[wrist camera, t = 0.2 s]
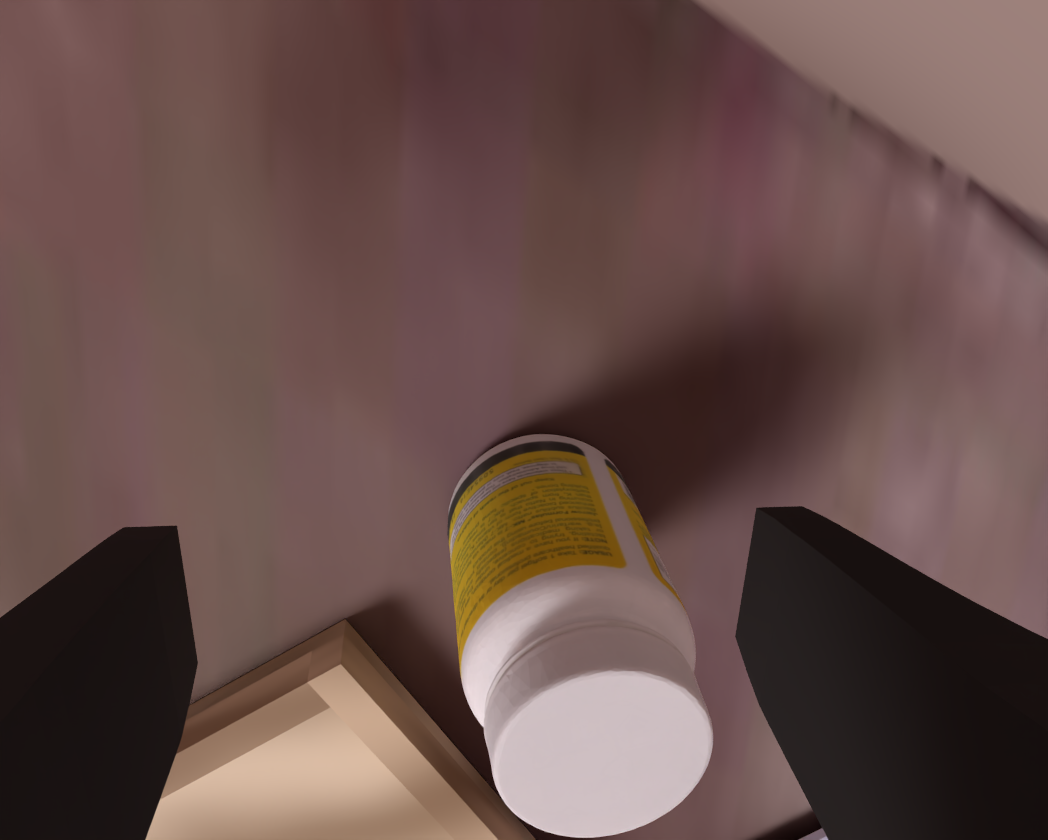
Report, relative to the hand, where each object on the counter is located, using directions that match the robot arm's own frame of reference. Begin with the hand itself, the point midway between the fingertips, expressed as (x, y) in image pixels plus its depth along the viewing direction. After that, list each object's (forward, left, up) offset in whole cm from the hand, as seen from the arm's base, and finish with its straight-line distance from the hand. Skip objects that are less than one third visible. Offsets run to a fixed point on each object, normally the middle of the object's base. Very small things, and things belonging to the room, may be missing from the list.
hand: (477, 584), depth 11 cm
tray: (-12, +13, -10) cm, 20 cm away
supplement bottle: (-6, +1, -11) cm, 12 cm away
